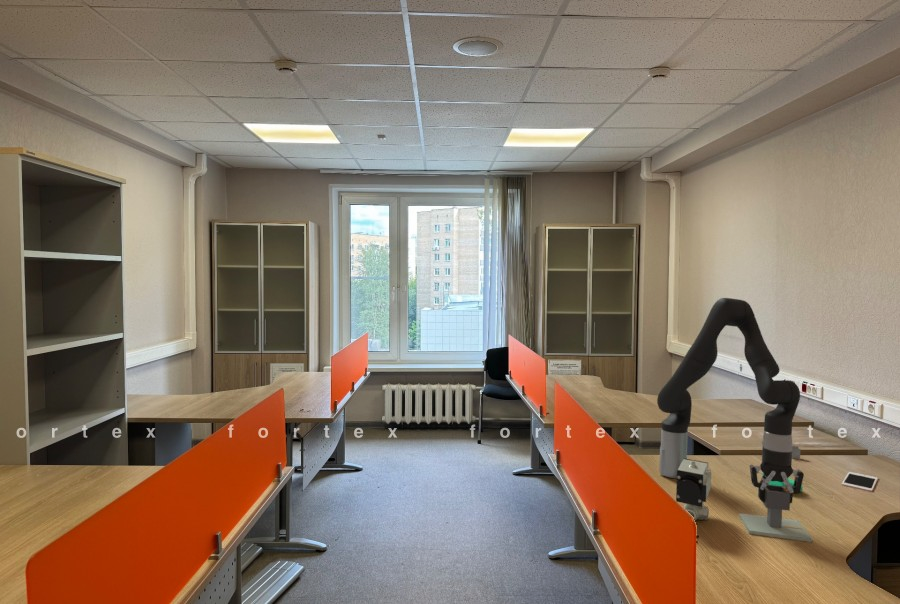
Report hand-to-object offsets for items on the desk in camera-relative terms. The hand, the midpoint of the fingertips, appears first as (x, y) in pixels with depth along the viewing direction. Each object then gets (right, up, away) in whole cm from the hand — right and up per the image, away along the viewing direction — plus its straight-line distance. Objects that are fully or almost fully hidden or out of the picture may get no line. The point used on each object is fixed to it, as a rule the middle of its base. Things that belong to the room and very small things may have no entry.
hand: (775, 502), depth 159 cm
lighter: (+47, -6, +66) cm, 81 cm away
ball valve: (-21, -8, +7) cm, 23 cm away
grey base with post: (0, -8, 0) cm, 8 cm away
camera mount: (+23, -7, +33) cm, 41 cm away
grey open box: (0, -1, 0) cm, 1 cm away
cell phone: (+56, -8, +39) cm, 68 cm away
